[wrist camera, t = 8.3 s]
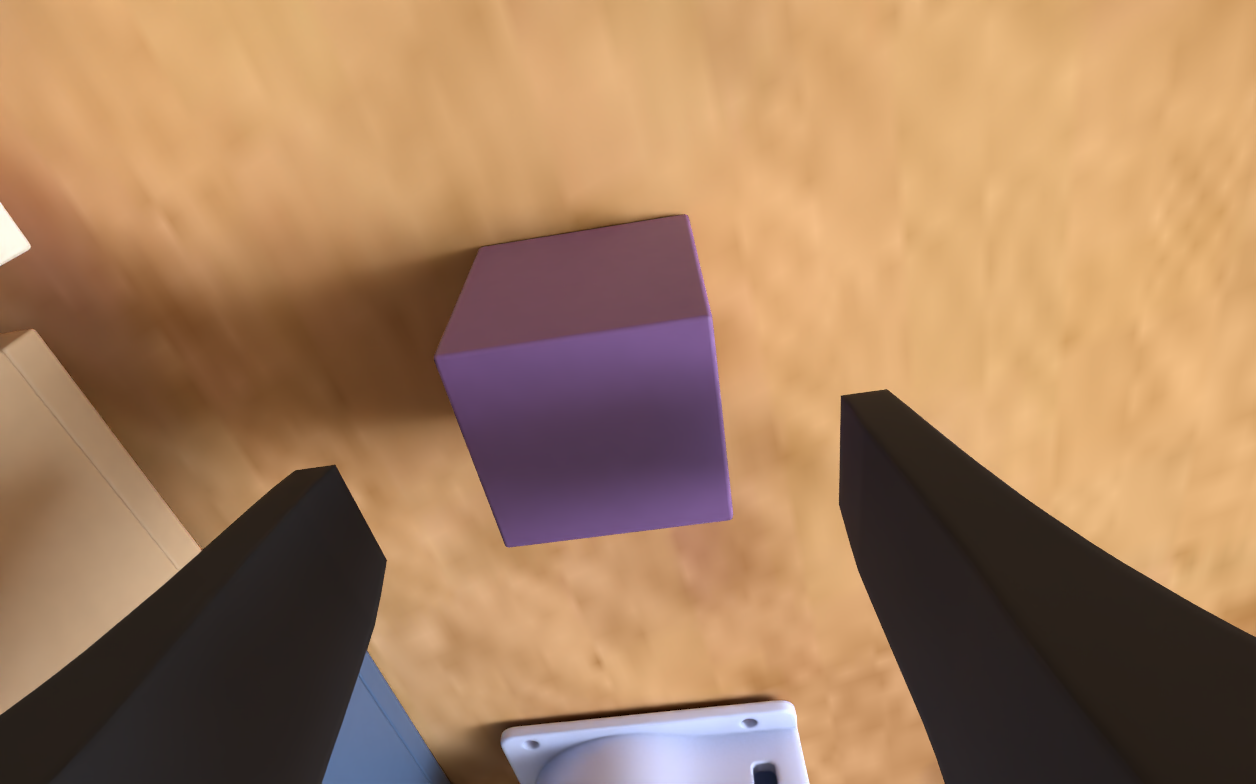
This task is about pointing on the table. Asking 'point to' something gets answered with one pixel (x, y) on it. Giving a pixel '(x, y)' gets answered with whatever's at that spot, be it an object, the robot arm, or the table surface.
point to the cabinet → (379, 739)
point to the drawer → (67, 515)
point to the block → (590, 383)
